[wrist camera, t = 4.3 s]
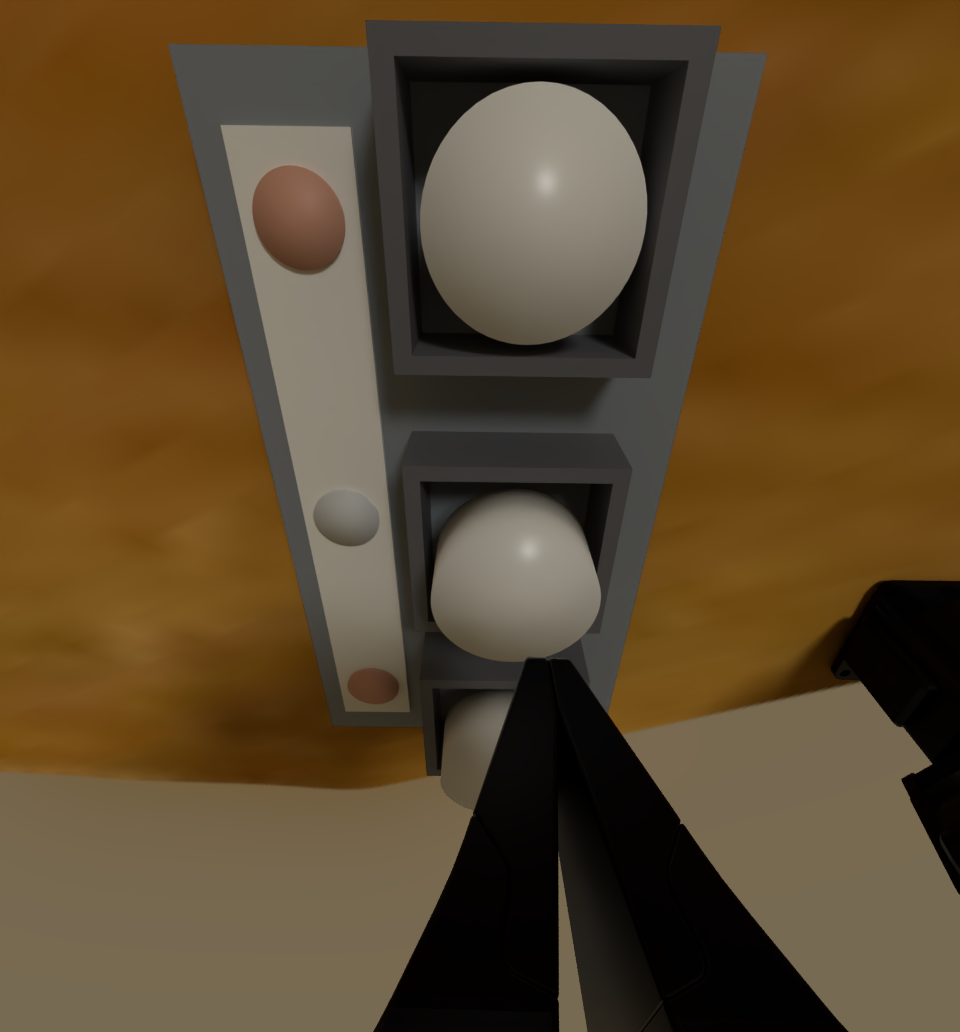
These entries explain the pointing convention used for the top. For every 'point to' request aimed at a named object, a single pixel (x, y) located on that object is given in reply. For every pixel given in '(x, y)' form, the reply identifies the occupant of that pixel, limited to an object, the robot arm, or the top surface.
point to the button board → (450, 325)
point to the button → (533, 213)
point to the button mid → (514, 577)
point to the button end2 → (471, 742)
